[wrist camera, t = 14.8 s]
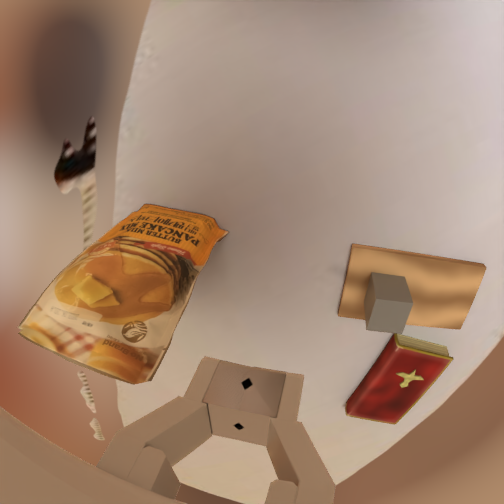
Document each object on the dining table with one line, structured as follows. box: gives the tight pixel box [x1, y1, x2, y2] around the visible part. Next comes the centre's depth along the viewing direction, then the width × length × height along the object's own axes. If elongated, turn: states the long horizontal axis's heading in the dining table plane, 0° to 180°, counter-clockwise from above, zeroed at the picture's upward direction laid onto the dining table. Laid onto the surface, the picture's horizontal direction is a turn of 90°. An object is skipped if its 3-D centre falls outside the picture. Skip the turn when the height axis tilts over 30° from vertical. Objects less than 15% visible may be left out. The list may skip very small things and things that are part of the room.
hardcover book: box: [345, 333, 453, 424], centre depth 52 cm, size 12×21×4 cm, turn 168°
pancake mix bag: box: [18, 204, 229, 385], centre depth 37 cm, size 7×19×28 cm, turn 83°
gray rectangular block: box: [364, 272, 413, 334], centre depth 41 cm, size 5×5×7 cm
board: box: [338, 244, 486, 329], centre depth 44 cm, size 12×22×1 cm, turn 88°
